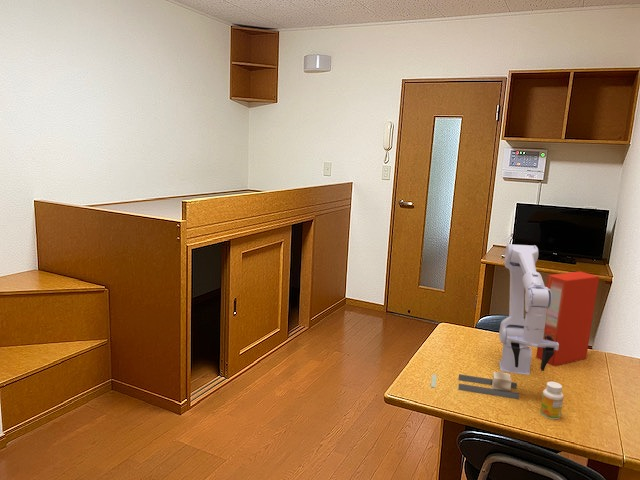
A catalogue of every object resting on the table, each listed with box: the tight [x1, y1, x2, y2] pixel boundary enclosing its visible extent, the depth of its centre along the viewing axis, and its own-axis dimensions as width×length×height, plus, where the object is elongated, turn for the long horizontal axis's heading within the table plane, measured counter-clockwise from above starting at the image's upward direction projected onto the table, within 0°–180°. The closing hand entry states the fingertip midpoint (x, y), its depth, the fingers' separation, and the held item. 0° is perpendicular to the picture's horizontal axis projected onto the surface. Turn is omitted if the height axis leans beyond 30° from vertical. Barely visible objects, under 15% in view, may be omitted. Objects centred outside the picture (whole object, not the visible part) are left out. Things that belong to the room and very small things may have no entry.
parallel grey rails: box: [457, 373, 520, 400], centre depth 156 cm, size 18×8×2 cm, turn 74°
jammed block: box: [491, 371, 512, 392], centre depth 155 cm, size 5×5×5 cm
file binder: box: [535, 270, 600, 367], centre depth 179 cm, size 8×17×32 cm, turn 115°
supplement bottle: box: [540, 381, 564, 420], centre depth 142 cm, size 5×5×10 cm
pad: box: [430, 373, 437, 389], centre depth 160 cm, size 8×9×1 cm
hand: (529, 367), depth 152 cm, fingers open, 7 cm apart
